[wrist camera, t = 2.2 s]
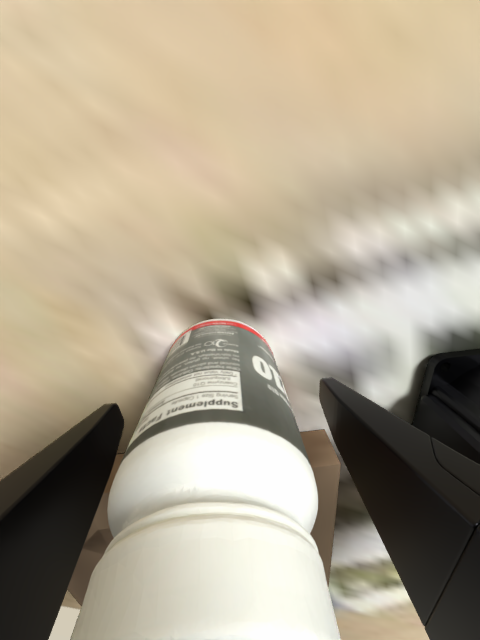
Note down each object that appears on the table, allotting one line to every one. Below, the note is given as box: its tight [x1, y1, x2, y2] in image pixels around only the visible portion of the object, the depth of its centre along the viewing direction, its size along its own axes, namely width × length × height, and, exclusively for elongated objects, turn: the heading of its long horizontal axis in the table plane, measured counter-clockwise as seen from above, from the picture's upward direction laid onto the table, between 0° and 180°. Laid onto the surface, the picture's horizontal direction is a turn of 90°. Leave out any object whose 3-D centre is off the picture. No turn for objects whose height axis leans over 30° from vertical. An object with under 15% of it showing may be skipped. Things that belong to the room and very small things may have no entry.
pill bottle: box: [70, 319, 341, 640], centre depth 7 cm, size 5×5×8 cm
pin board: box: [67, 429, 341, 606], centre depth 15 cm, size 16×14×2 cm
